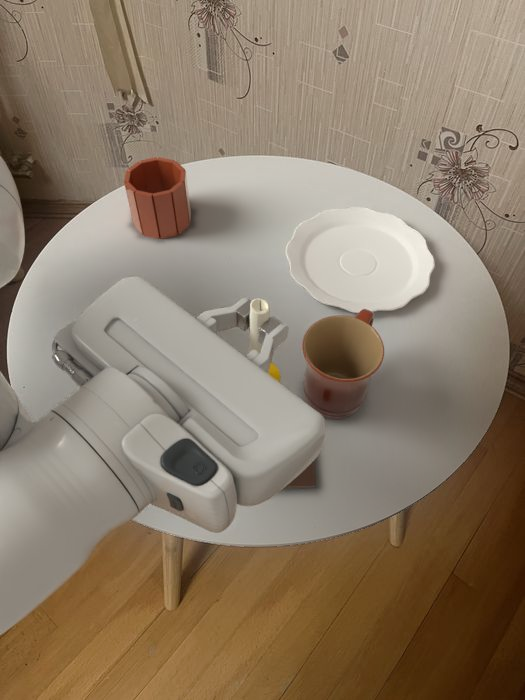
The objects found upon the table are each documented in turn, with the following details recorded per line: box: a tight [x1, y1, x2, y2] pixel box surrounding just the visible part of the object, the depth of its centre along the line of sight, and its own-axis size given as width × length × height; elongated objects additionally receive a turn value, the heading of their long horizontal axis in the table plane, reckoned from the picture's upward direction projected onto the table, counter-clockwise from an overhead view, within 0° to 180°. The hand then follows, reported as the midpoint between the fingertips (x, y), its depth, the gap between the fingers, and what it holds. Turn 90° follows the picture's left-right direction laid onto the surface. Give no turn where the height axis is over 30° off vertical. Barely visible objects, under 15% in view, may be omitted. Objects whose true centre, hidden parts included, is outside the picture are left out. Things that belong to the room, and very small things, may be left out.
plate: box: [284, 206, 436, 314], centre depth 81 cm, size 21×21×2 cm
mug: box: [301, 309, 385, 420], centre depth 65 cm, size 12×9×10 cm
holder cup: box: [123, 156, 192, 240], centre depth 84 cm, size 9×9×8 cm
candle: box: [248, 298, 281, 383], centre depth 48 cm, size 5×5×16 cm
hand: (267, 316), depth 44 cm, fingers closed on candle
